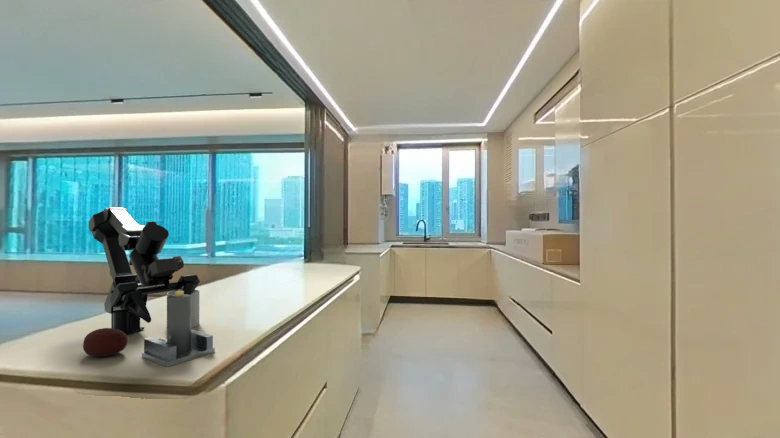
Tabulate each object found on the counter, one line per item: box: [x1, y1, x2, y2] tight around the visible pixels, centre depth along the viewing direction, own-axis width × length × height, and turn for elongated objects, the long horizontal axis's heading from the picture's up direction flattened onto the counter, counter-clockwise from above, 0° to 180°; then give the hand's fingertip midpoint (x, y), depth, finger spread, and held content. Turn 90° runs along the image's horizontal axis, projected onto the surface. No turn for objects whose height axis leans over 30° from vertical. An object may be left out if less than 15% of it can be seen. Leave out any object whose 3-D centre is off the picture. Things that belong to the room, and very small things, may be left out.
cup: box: [166, 289, 200, 329], centre depth 111 cm, size 8×8×10 cm
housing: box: [141, 329, 216, 368], centre depth 88 cm, size 11×11×4 cm
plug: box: [157, 291, 192, 354], centre depth 89 cm, size 12×5×14 cm, turn 58°
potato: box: [82, 327, 128, 358], centre depth 87 cm, size 7×10×6 cm
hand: (170, 317), depth 90 cm, fingers open, 9 cm apart
